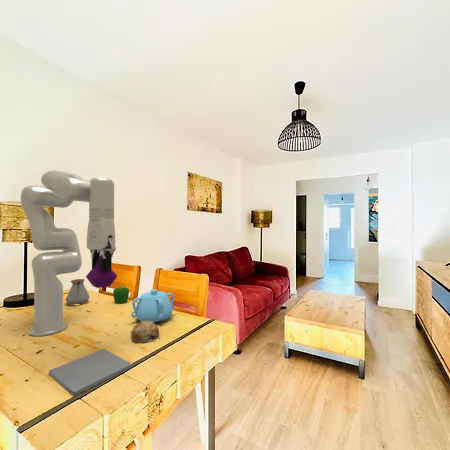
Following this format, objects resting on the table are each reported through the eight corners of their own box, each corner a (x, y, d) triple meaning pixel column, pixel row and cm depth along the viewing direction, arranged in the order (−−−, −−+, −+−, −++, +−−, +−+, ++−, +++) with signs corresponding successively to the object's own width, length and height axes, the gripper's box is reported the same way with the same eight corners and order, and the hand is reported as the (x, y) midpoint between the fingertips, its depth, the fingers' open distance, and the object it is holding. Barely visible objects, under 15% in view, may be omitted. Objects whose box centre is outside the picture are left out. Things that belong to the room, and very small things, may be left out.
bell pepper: (121, 305, 135) (121, 286, 135) (110, 303, 137) (110, 285, 138) (132, 301, 142) (132, 283, 143) (121, 299, 145) (121, 282, 146)
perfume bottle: (108, 282, 88) (109, 231, 88) (117, 285, 82) (117, 231, 83) (85, 286, 82) (85, 232, 83) (93, 289, 77) (93, 231, 78)
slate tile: (48, 374, 70) (48, 370, 70) (104, 351, 83) (104, 348, 83) (74, 396, 61) (74, 392, 61) (132, 367, 74) (132, 363, 74)
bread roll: (139, 355, 88) (145, 336, 87) (122, 336, 93) (128, 319, 92) (160, 344, 97) (166, 327, 95) (144, 327, 102) (149, 311, 100)
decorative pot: (149, 312, 123) (149, 284, 124) (178, 315, 119) (178, 286, 119) (127, 324, 108) (127, 292, 108) (159, 328, 103) (159, 295, 103)
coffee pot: (65, 302, 140) (66, 275, 140) (88, 299, 146) (89, 273, 146) (64, 313, 122) (64, 282, 122) (91, 309, 128) (91, 280, 128)
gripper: (77, 216, 85) (77, 269, 84) (104, 213, 75) (104, 274, 74) (99, 217, 91) (99, 266, 90) (127, 215, 81) (127, 270, 81)
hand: (101, 269), depth 82 cm, fingers closed on perfume bottle, 5 cm apart
